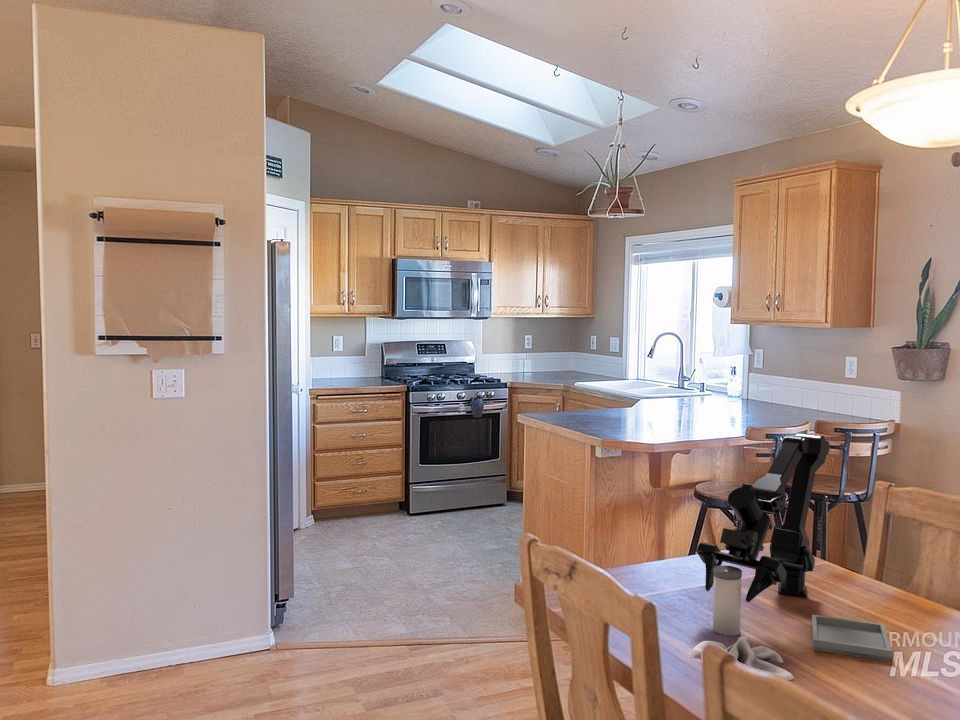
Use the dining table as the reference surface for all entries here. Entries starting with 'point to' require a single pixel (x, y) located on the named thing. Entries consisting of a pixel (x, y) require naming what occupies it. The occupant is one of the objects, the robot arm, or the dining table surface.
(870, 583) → the dining table surface
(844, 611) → the dining table surface
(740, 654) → the cloth
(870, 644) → the tray
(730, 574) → the shaker
